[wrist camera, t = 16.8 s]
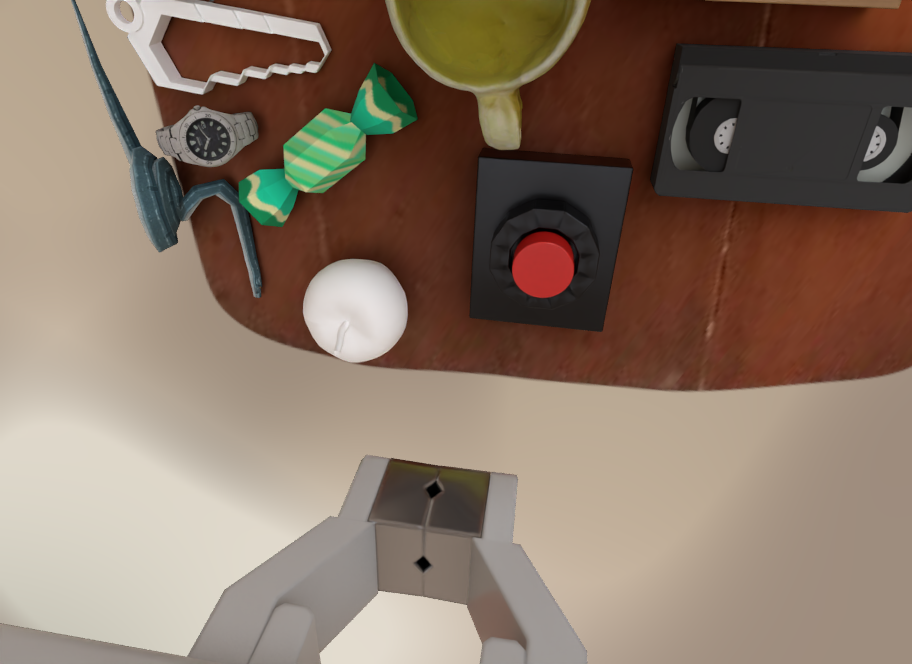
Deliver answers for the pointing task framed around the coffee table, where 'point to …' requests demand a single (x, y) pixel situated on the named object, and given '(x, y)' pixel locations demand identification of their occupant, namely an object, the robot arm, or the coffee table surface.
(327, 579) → the robot arm
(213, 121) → the wristwatch
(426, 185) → the coffee table surface
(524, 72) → the mug
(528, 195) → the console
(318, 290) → the plain white apple
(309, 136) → the candy
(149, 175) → the stylized snake
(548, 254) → the button
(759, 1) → the base
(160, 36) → the key shaped keychain
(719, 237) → the coffee table surface
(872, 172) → the vhs tape
